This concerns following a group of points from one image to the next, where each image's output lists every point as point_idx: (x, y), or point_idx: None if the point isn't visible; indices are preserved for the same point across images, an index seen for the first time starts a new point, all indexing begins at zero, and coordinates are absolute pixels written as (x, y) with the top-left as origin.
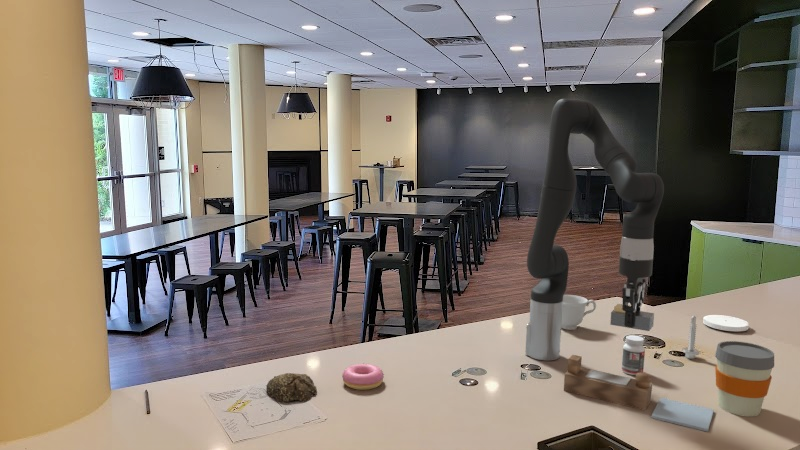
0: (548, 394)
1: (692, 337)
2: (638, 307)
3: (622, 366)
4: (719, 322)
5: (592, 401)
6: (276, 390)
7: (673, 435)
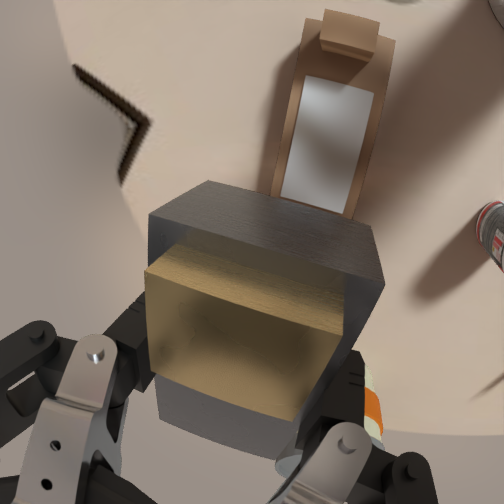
0: (267, 4)
1: None
2: (299, 444)
3: (500, 204)
4: None
5: (271, 105)
6: None
7: None
